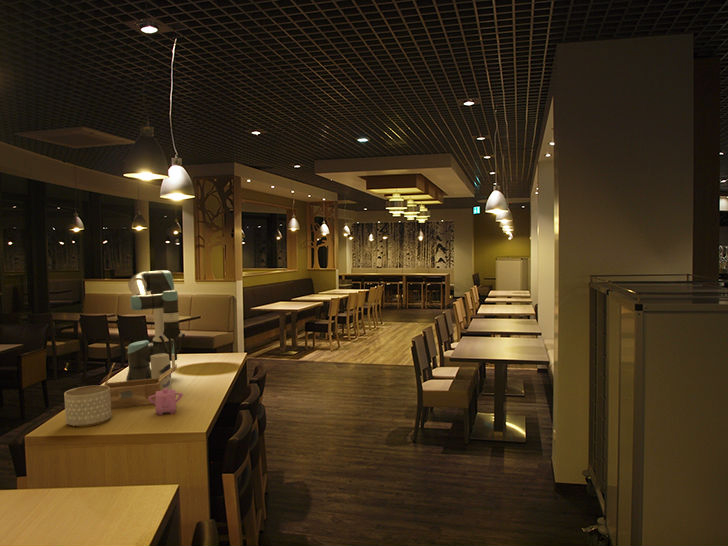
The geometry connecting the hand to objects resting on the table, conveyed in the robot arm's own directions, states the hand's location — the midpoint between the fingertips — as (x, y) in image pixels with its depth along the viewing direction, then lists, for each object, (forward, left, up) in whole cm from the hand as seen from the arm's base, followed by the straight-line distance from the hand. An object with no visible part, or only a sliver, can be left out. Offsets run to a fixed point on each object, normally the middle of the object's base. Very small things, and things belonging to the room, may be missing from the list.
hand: (173, 366), depth 296 cm
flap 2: (0, -7, -6) cm, 9 cm away
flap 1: (0, -32, -6) cm, 33 cm away
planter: (+26, -37, -17) cm, 48 cm away
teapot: (+25, -4, -17) cm, 30 cm away
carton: (0, -20, -16) cm, 26 cm away
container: (-19, -7, -17) cm, 26 cm away
